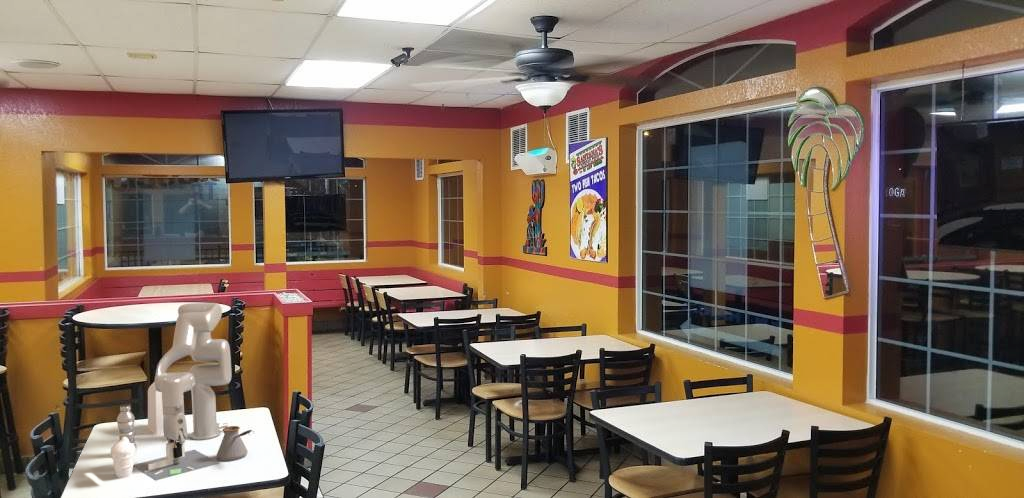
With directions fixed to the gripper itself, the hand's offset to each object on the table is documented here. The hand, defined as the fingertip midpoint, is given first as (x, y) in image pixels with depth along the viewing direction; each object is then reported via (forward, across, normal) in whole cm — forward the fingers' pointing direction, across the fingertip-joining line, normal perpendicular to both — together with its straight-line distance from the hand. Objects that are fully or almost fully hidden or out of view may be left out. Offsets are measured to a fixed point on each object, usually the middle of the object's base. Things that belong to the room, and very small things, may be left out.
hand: (175, 456), depth 289 cm
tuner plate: (+5, 0, 0) cm, 5 cm away
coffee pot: (+5, -15, -18) cm, 24 cm away
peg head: (+3, 0, +3) cm, 5 cm away
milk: (+5, +54, -23) cm, 59 cm away
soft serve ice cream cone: (+5, +4, +18) cm, 19 cm away
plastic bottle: (+5, +33, +4) cm, 33 cm away
